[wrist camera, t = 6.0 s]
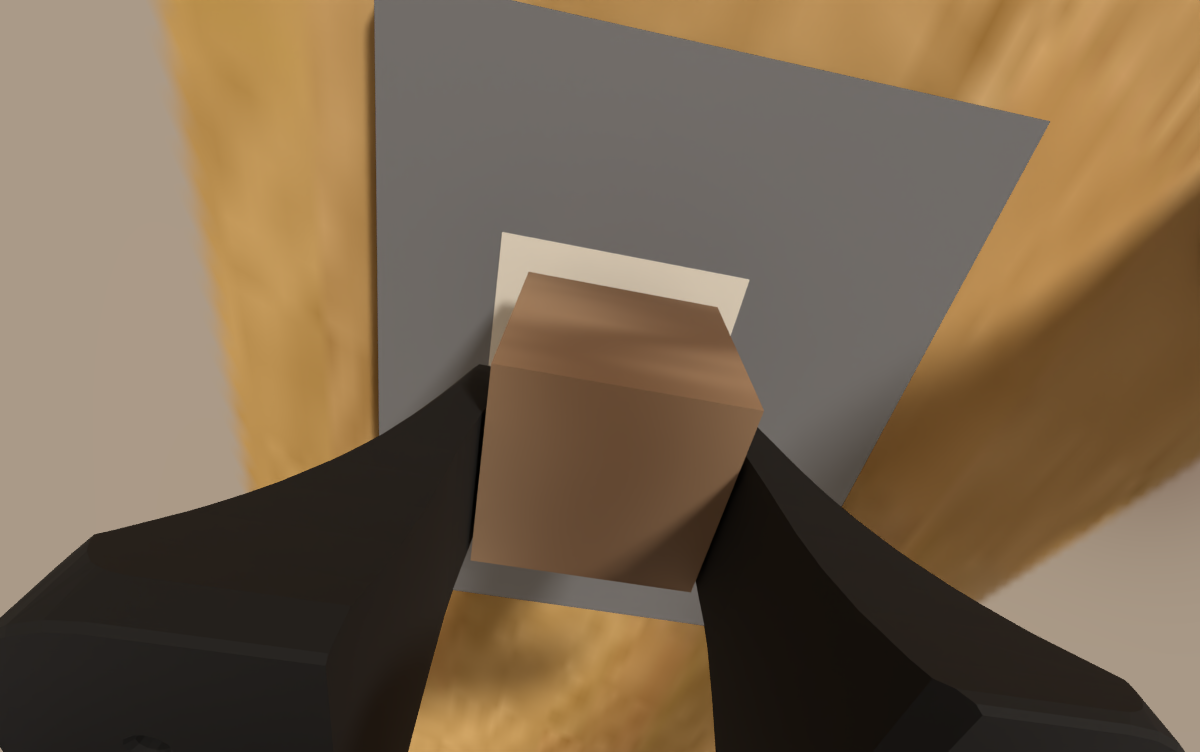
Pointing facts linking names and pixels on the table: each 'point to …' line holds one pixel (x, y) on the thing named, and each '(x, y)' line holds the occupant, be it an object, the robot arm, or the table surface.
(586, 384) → the walnut block
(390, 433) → the robot arm
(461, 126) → the baseplate
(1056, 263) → the table surface
